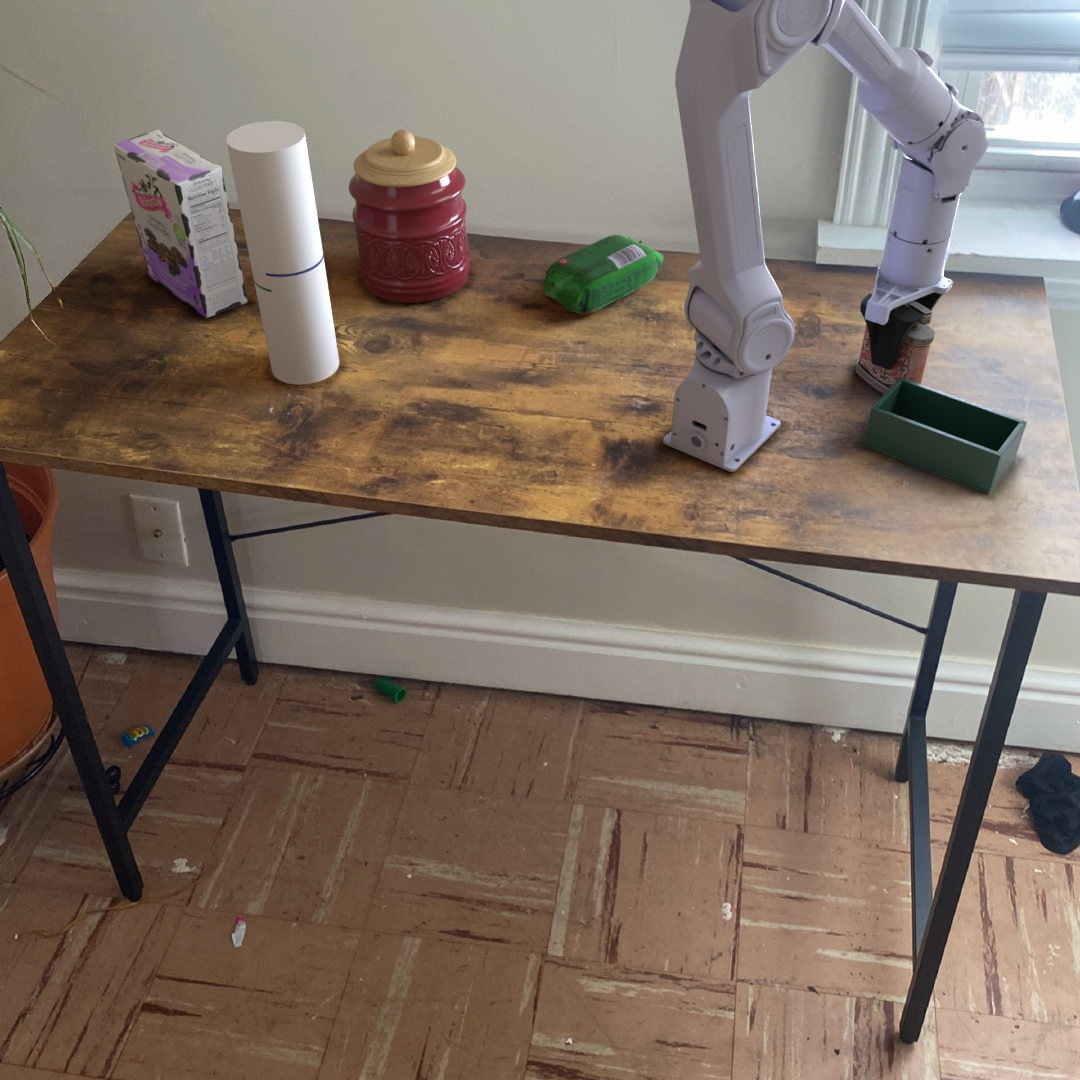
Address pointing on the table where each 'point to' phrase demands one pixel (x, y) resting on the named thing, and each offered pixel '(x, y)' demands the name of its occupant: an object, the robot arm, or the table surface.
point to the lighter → (909, 358)
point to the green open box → (944, 434)
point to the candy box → (182, 222)
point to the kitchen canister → (410, 219)
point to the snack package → (601, 273)
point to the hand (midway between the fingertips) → (892, 354)
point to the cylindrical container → (285, 249)
